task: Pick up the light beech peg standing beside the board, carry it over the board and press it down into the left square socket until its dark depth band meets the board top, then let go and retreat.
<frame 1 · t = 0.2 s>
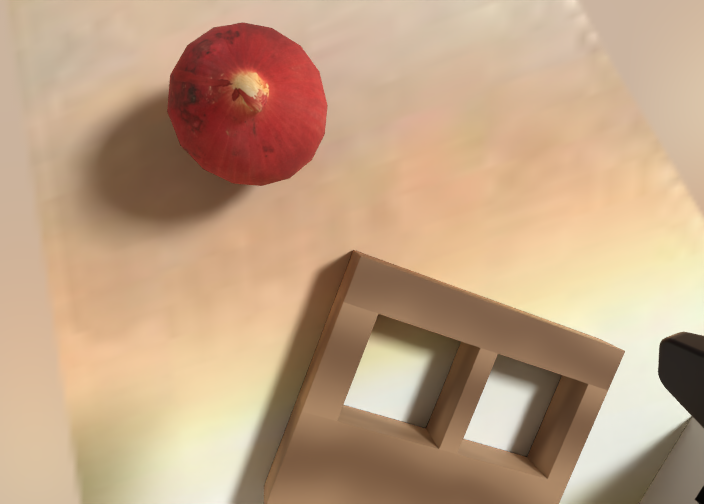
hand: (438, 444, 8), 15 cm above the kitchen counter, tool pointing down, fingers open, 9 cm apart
onion: (254, 121, 21), on the kitchen counter
board: (438, 408, 25), on the kitchen counter
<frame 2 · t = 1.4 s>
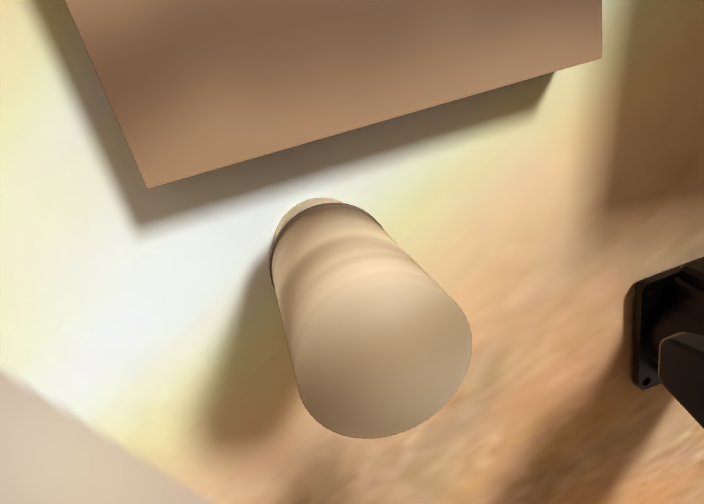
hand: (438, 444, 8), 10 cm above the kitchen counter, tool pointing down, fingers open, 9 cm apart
peg: (319, 242, 17), on the kitchen counter
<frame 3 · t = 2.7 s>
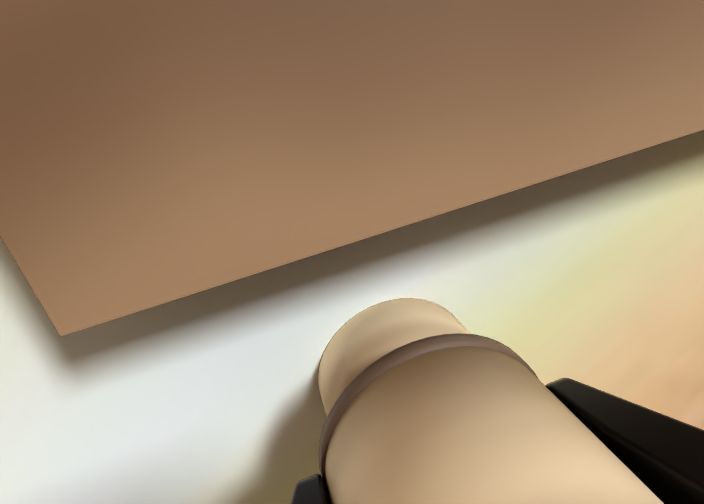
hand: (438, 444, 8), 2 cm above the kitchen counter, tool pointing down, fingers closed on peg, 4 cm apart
peg: (395, 369, 10), on the kitchen counter, touching gripper
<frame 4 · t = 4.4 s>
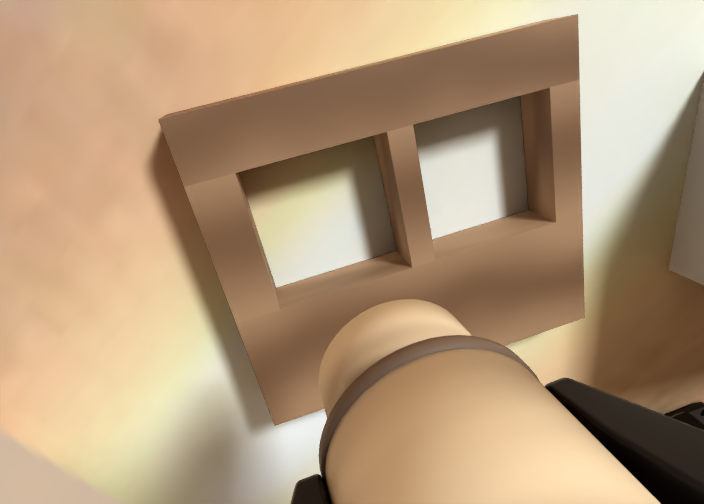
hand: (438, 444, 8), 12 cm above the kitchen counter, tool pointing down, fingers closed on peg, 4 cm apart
board: (396, 223, 20), on the kitchen counter
peg: (396, 370, 10), point 10 cm above the kitchen counter, touching gripper
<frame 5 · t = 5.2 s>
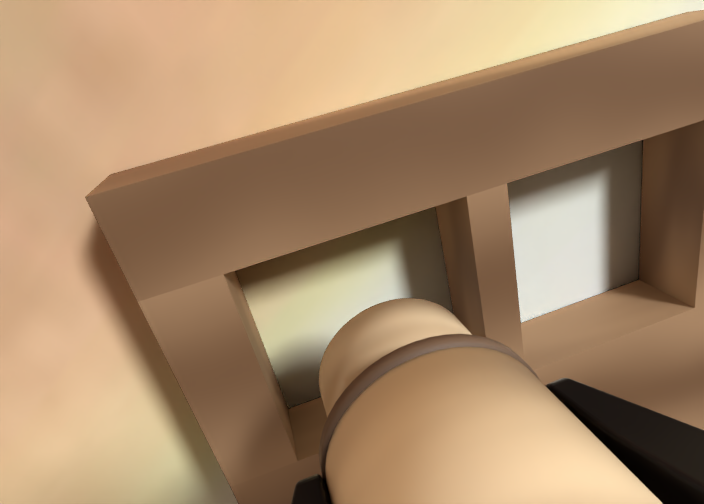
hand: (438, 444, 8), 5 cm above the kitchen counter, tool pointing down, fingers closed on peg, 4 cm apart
board: (460, 309, 14), on the kitchen counter
peg: (396, 369, 10), point 3 cm above the kitchen counter, touching gripper
when the fingers open (3 cm above the kitchen counter, at t = 6.0 s): peg stays where it is, resting in board.
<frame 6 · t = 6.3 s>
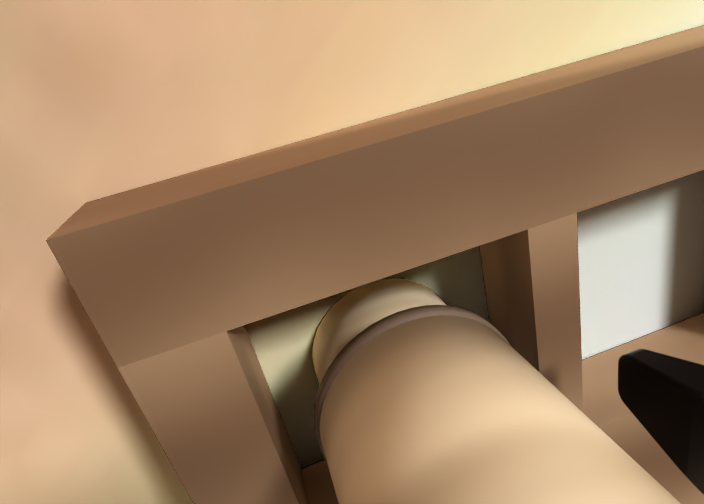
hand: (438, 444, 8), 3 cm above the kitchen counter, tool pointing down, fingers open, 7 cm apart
board: (502, 352, 12), on the kitchen counter
peg: (383, 345, 11), resting in board
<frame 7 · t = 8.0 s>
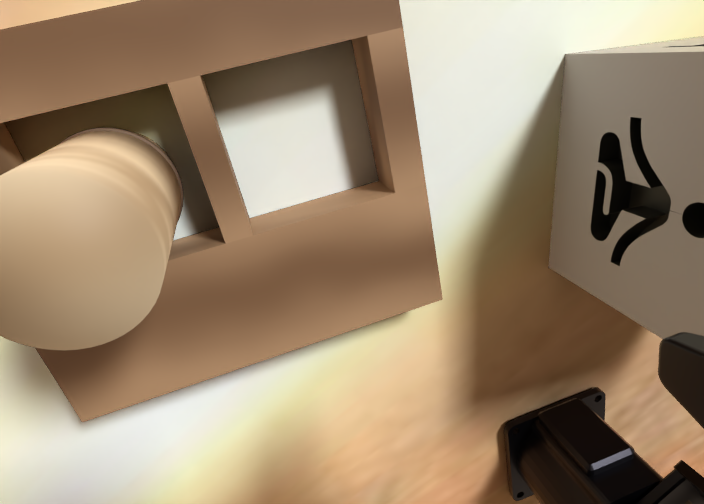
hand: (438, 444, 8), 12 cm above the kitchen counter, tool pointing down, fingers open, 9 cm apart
board: (220, 194, 18), on the kitchen counter
icon cube: (642, 153, 23), on the kitchen counter
peg: (126, 178, 17), resting in board
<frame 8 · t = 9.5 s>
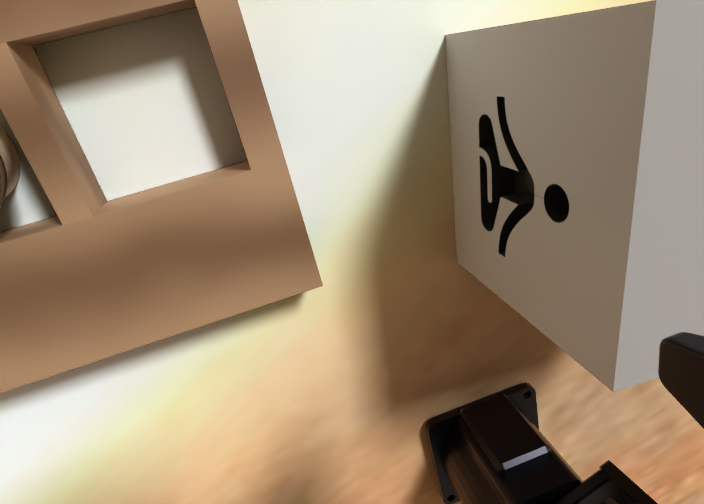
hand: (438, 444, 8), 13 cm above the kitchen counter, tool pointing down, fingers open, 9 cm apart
board: (70, 175, 17), on the kitchen counter
icon cube: (549, 138, 21), on the kitchen counter
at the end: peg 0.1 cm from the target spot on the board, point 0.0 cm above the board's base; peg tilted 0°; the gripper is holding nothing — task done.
